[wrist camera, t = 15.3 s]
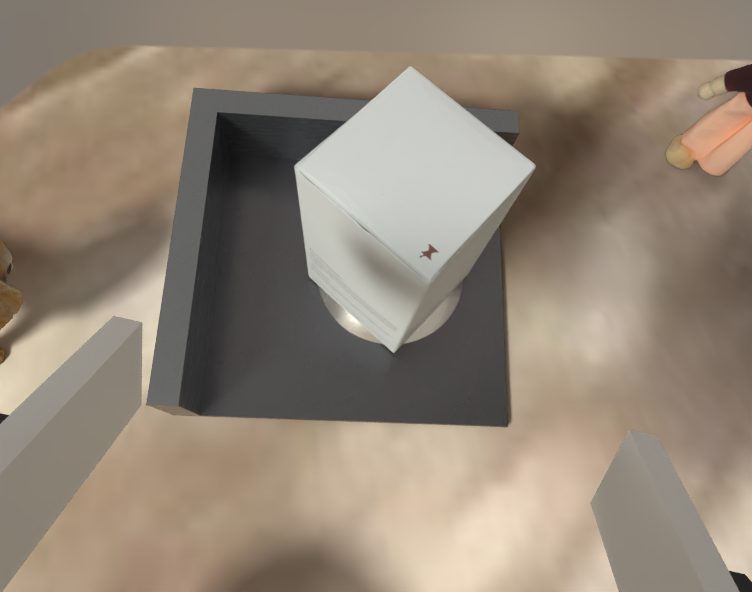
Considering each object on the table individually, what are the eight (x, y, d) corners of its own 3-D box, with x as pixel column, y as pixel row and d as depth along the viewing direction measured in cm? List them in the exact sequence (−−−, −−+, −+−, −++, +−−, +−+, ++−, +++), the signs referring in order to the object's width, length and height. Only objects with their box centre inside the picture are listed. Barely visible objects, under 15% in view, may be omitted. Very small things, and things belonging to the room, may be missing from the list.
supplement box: (472, 272, 35) (546, 167, 23) (392, 357, 33) (427, 290, 21) (385, 196, 36) (412, 58, 24) (303, 273, 34) (288, 165, 22)
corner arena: (495, 156, 39) (518, 111, 34) (505, 427, 33) (535, 419, 28) (211, 137, 37) (193, 87, 33) (173, 415, 32) (146, 404, 27)
